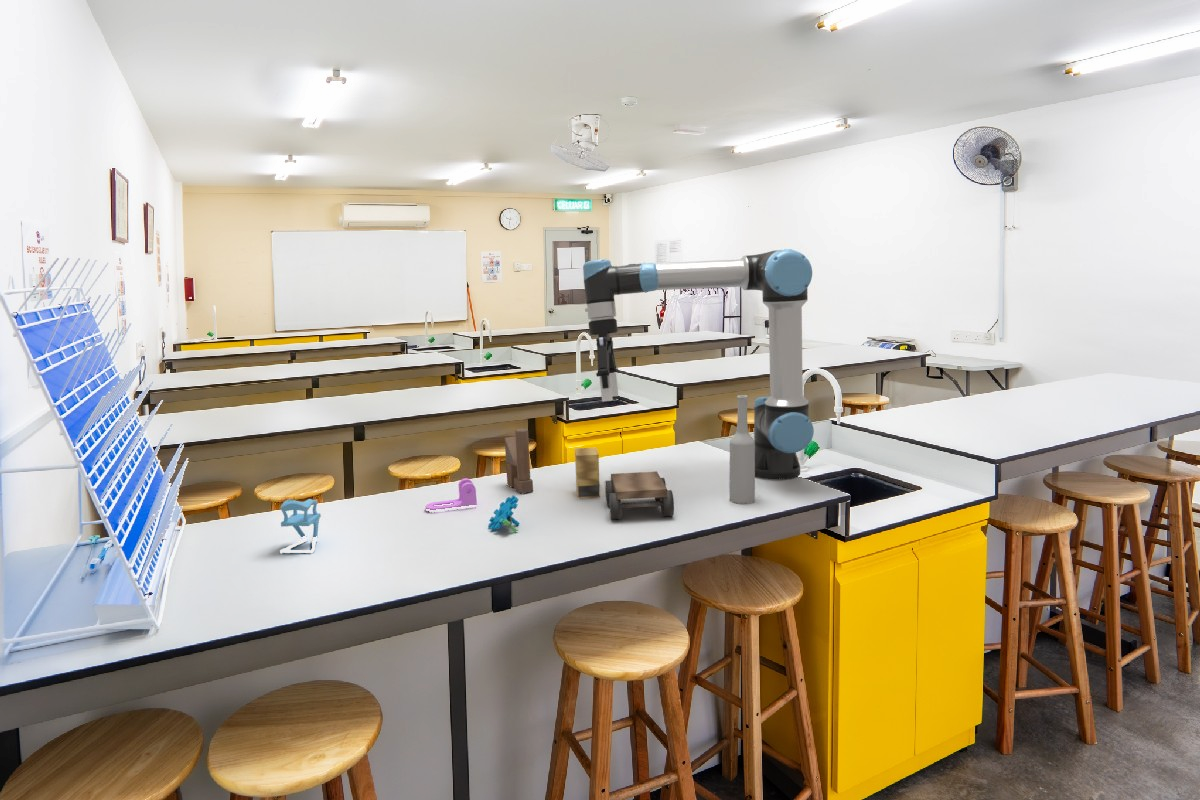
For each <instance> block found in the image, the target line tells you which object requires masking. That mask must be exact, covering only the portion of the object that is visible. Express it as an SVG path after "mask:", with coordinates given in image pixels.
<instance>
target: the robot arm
mask: <svg viewBox="0 0 1200 800" xmlns="http://www.w3.org/2000/svg"><path fill="white" fill-rule="evenodd" d="M582 270H583V273H582V274H583V286H584V294H585V301H586V308H585V309H584V311H585V312H586V313H587V319H588V320H590V321H589V322H588V330H589V331H588V333H589V335H591V336H598V337H596V339H595V341H596V350H597V351H596V353H597V354H596V355H597V357H596V358H597V372H596V373H595V375H596V377H599V385H600V393H601V395H600V396H601V402H603V403H604V402H611V401H613V400H614V399H613V398H614V397H619V389H618V381H617V380H618V379H617V373H618V372H619V368H618V367H617V365H616V358H615V351H614V342H613V337H612V336H611V335H610V334H616V333H618V330H619V329H618V322H617V321H618V320H617V319H616V318H615V317H617V311H616V310H617V309H616V301H615V296H618V295H619V296H620V295H628V294H629V295H631V294H640V293H649V292H655V291H669V290H694V289H716V288H718V289H719V288H740V289H742V290H744V291H762V293H761V294H762V303H763V304H764V305H765V306H766V308H768V309H767V310H768V343H769V345H768V347H769V350H768V351H769V391H770V395H769V396H760V397H757V398H756V399H755V400H754V406H753V411H754V412H753V413H754V414H753V415H754V417H753V419H754V420H753V424H754V425H753V426H754V429H753V439H754V441H755V478H759V479H763V480H775V481H777V480H791V479H795V478H798V477H799V476H800V475H801V464H800V461H799V459H798V455H797V454H798V453H799V452H801V451H803V450H805V449H806V448H807V447H808V446H809V445H810V444H811V442H812V441H813V438H814V434H815V433H814V431H815V429H814V426H813V422H812V420H811V419H810V415H809V414H810V413H809V412H810V409H809V407H810V406H809V404H810V403H809V402H810V401H809V400H808V399H807V398H806V397H804V391H803V386H804V385H803V384H804V383H803V377H804V375H803V313H802V312H803V309H802V307H803V306H804V305H805V304H807V302H808V299H809V298H808V293H809V292H808V287H809V286H810V284H811V281H812V279H813V278H812V277H813V267H812V264H811V262H810V260H809V259H808V258H807V256H806V255H804V254H803V253H801V251H798V250H794V249H791V248H788V249H787V248H783V249H779V250H778V249H777V250H772V251H767V252H762V253H759V254H752V255H749V254H748V255H743V256H742V257H741V258H739V259H723V260H720V259H719V260H701V261H700V260H699V261H681V262H680V261H679V262H678V261H676V262H675V261H674V262H657V263H656V262H655V263H654V262H642V263H630V264H627V265H618V266H617V265H615V266H614V265H613V266H612V263H611V261H610V260H609V259H607V258H606V259H594V260H589V261H586V262H585V263H584V264H583V265H582Z"/></svg>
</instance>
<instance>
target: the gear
mask: <svg viewBox="0 0 1200 800" xmlns="http://www.w3.org/2000/svg"><path fill="white" fill-rule="evenodd" d="M518 502H519V497H517V496H515V494H514V495H513V494H512V495H511V497H510V496H508V497H506V499H505V501H502V502H501V503H499V508H495V510H494V511H493V514H494V516H491V517H490V519H489V520H488V522H490V523H488V528H489V527H490V528H489V529H490V530H491V531H493V530H494V531H496V530H499V529H500V528H501V527H502V525H503V526H505V528H506V529H510V530H512V531H513V532H515V531H518V532H519V530H518V528H516V527H515V526H516V525H518V526H519V525H520V522H519V521H518V520H517V519H515V518H514V517H513V515H514V511H513V510H516V509H517V507H518V506H519V505H518ZM513 525H515V526H513Z"/></svg>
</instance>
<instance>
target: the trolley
mask: <svg viewBox="0 0 1200 800" xmlns="http://www.w3.org/2000/svg"><path fill="white" fill-rule="evenodd" d="M604 484H605V487H604V489H605V501H606V505H607V506H609V514H610V515H609V516H610V520H619V519H621V518H622V513H623V512H622V509H626V508H628V509H630V508H631V509H632V508H645V507H646V508H647V507H660V512H661V516H662V517H672V516H674V513H675V501H674V494H673V491H672V490H671V489H668V488H667V483H666V480H665V477H661V476H660V474H659V472H658V471H640V472H639V471H638V472H621V473H610V480H605V483H604ZM634 499H635V500H637V499H638V500H639V499H654V501H636V502H635V501H633V502H622V500H634Z"/></svg>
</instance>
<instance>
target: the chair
mask: <svg viewBox="0 0 1200 800" xmlns="http://www.w3.org/2000/svg"><path fill="white" fill-rule="evenodd" d="M312 505H313V507H312ZM317 505H318V500H317V499H312V498H307V499H306V500H305V501H299V500H296V499H289V498H288V499H286V500H285V501H283V502H282V503H281V505H280V511H281V512H282V514H283V517H284V518H283V521H281V522H280V527H281V528H283V527H293V528H294V529H295V531H296V532H297V534H298V535H299V536H300V538H301V537H303V536H305V535H306V534H305V532H304V531H303V529H302V528H301V527H309V526H311V525H313V533H312V538H313V537H316V536H317V537H318V534H319V523H320V519H321V517H322V515H321V513H320V512H317ZM311 507H312V513H308V511H309V509H310V508H311ZM289 511H292V512H293V513H292V514H291V515H290V516H289V515H288V513H287V512H289ZM298 511H302V512H303V513H298Z"/></svg>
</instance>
